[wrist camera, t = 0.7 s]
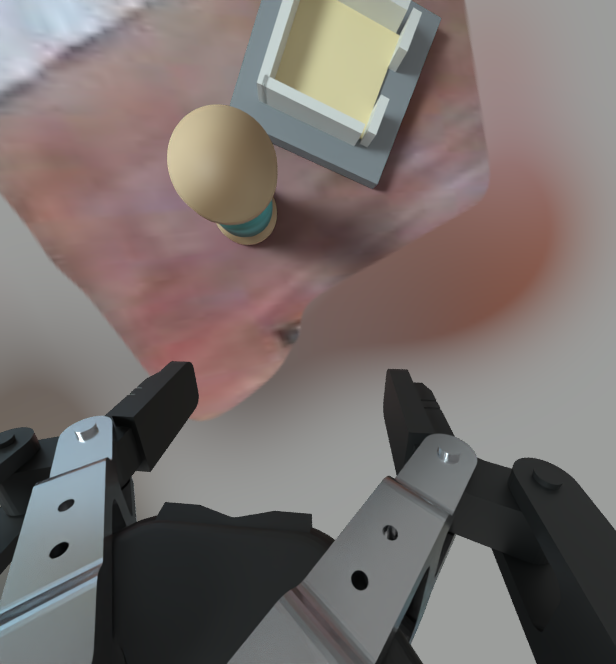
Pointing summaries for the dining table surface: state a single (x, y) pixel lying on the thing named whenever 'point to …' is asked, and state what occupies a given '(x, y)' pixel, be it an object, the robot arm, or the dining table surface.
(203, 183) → the spool
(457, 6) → the dining table surface
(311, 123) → the white grey square tray
